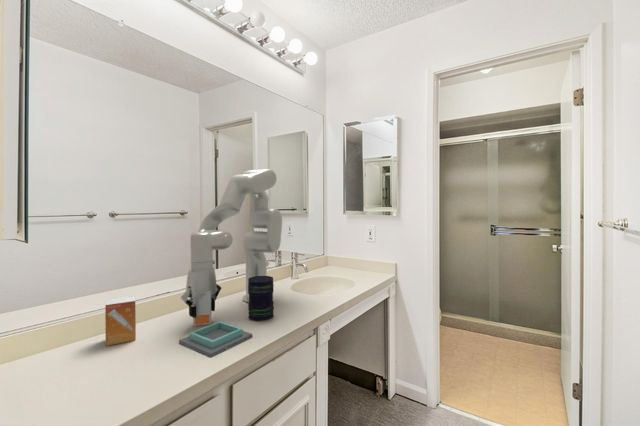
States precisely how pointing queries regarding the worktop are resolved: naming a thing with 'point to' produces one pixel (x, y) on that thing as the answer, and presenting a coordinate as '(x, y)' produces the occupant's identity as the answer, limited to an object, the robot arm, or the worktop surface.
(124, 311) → the small box
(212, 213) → the robot arm
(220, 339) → the tray
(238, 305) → the worktop surface
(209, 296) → the skincare box
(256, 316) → the storage jar
